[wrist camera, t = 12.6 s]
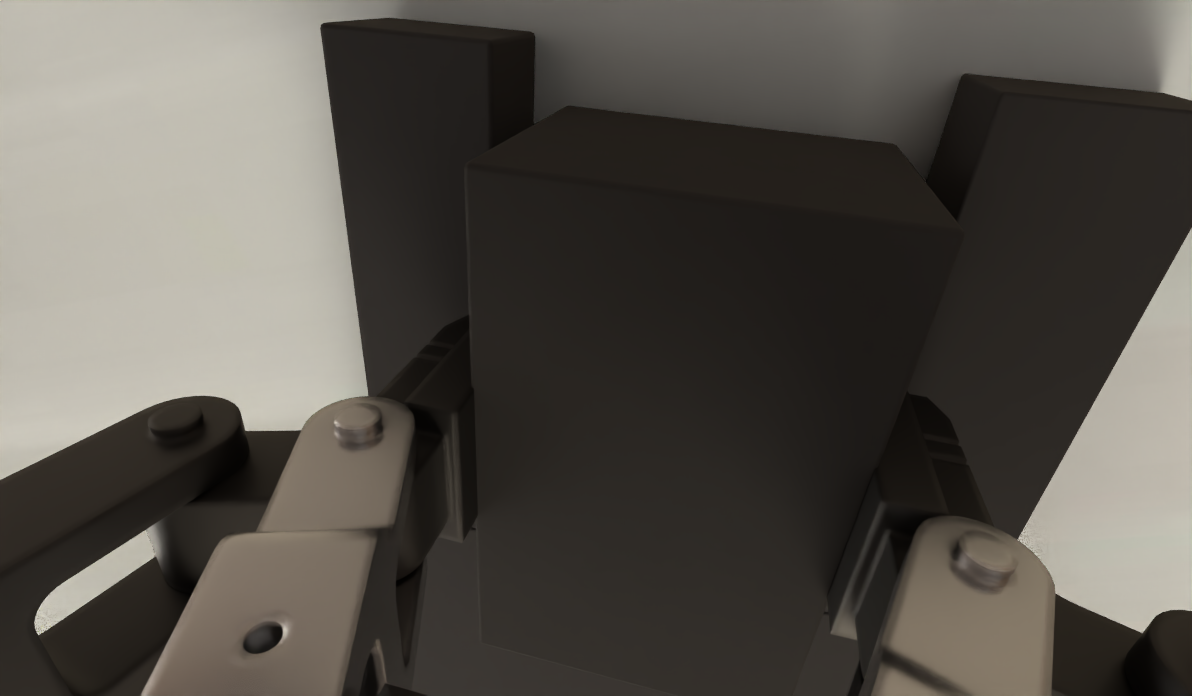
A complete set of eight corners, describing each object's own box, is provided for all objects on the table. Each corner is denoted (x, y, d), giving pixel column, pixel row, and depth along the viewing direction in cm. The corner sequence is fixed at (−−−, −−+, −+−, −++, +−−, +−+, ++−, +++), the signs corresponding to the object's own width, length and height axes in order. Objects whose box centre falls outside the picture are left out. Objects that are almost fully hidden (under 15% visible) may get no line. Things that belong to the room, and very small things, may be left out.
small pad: (565, 104, 10) (461, 162, 7) (898, 143, 9) (970, 231, 6) (549, 487, 14) (478, 644, 11) (780, 538, 13) (782, 726, 10)
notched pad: (386, 17, 11) (317, 22, 9) (1165, 93, 9) (1255, 117, 7) (441, 661, 20) (410, 723, 18) (837, 771, 18) (843, 852, 16)
